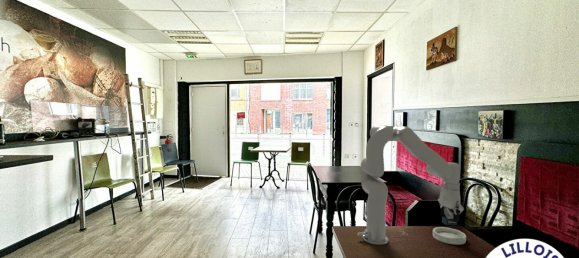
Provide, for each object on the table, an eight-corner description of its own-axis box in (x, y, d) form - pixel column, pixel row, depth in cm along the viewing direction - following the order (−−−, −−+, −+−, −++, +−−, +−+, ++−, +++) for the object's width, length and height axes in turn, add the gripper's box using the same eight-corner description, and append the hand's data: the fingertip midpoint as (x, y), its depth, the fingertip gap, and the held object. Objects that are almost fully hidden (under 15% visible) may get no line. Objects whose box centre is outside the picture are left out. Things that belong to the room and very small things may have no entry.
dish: (447, 245, 138) (447, 239, 138) (426, 233, 153) (426, 228, 153) (472, 243, 141) (473, 237, 141) (450, 231, 156) (450, 226, 156)
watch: (448, 226, 143) (448, 205, 142) (440, 220, 151) (440, 201, 150) (459, 226, 143) (459, 205, 142) (450, 221, 151) (451, 201, 150)
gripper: (432, 182, 154) (432, 213, 154) (457, 190, 137) (456, 225, 137) (444, 181, 155) (443, 212, 156) (470, 189, 138) (469, 224, 139)
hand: (449, 218), depth 147 cm, fingers closed on watch, 8 cm apart
